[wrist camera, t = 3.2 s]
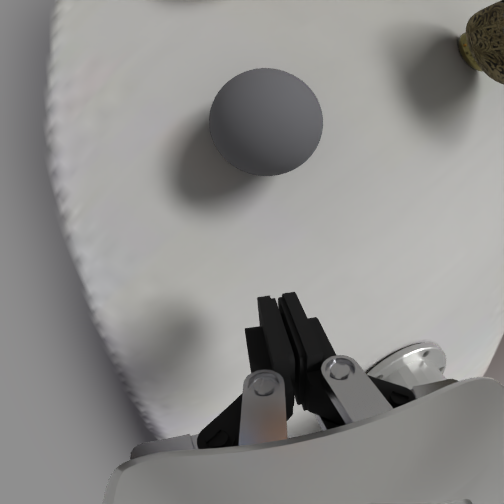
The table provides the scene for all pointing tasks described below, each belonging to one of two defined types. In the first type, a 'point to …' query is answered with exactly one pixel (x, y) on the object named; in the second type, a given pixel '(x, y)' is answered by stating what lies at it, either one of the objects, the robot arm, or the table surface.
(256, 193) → the table surface
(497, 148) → the table surface
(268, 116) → the gray ball
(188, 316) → the table surface
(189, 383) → the table surface
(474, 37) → the brown round vessel
